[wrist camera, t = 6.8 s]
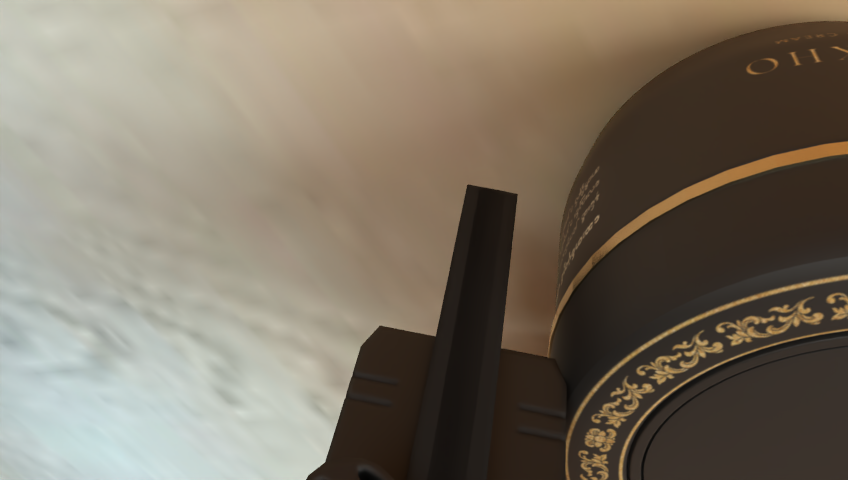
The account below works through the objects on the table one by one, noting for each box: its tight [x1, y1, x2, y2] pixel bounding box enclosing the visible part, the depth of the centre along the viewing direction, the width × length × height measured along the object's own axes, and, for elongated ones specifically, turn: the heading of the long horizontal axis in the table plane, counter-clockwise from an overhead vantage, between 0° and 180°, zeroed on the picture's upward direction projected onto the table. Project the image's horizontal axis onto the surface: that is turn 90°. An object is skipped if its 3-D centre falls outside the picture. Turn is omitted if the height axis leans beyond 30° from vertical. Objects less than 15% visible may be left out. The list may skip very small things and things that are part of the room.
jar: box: [547, 21, 848, 480], centre depth 14 cm, size 10×10×8 cm
